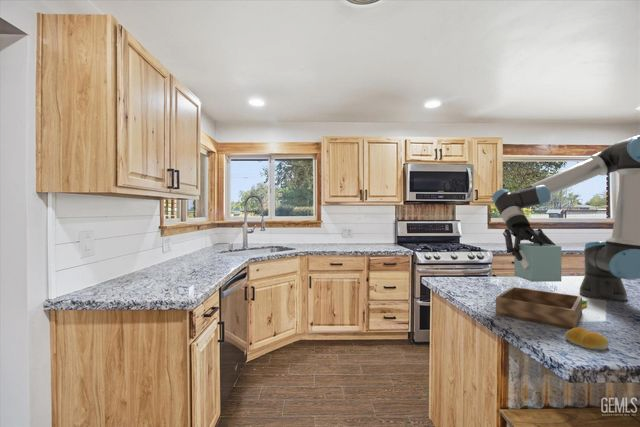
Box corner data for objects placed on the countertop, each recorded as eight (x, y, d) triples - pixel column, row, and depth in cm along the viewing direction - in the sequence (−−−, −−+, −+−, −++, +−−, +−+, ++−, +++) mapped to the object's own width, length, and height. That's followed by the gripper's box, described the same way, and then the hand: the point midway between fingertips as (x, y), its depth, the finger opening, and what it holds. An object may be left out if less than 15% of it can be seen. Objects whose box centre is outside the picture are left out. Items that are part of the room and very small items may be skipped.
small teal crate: (541, 275, 120) (541, 243, 120) (561, 281, 110) (561, 246, 110) (514, 275, 120) (514, 243, 120) (531, 281, 110) (531, 246, 110)
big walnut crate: (582, 313, 115) (582, 296, 115) (574, 330, 99) (574, 310, 99) (512, 301, 130) (512, 286, 130) (495, 314, 114) (495, 297, 114)
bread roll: (597, 353, 84) (597, 338, 83) (560, 340, 92) (560, 326, 92) (616, 348, 86) (616, 333, 86) (579, 336, 95) (579, 322, 95)
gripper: (539, 226, 130) (569, 273, 115) (483, 227, 130) (505, 273, 115) (548, 213, 125) (581, 260, 109) (490, 214, 125) (514, 261, 109)
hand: (542, 267), depth 112 cm, fingers closed on small teal crate, 10 cm apart
